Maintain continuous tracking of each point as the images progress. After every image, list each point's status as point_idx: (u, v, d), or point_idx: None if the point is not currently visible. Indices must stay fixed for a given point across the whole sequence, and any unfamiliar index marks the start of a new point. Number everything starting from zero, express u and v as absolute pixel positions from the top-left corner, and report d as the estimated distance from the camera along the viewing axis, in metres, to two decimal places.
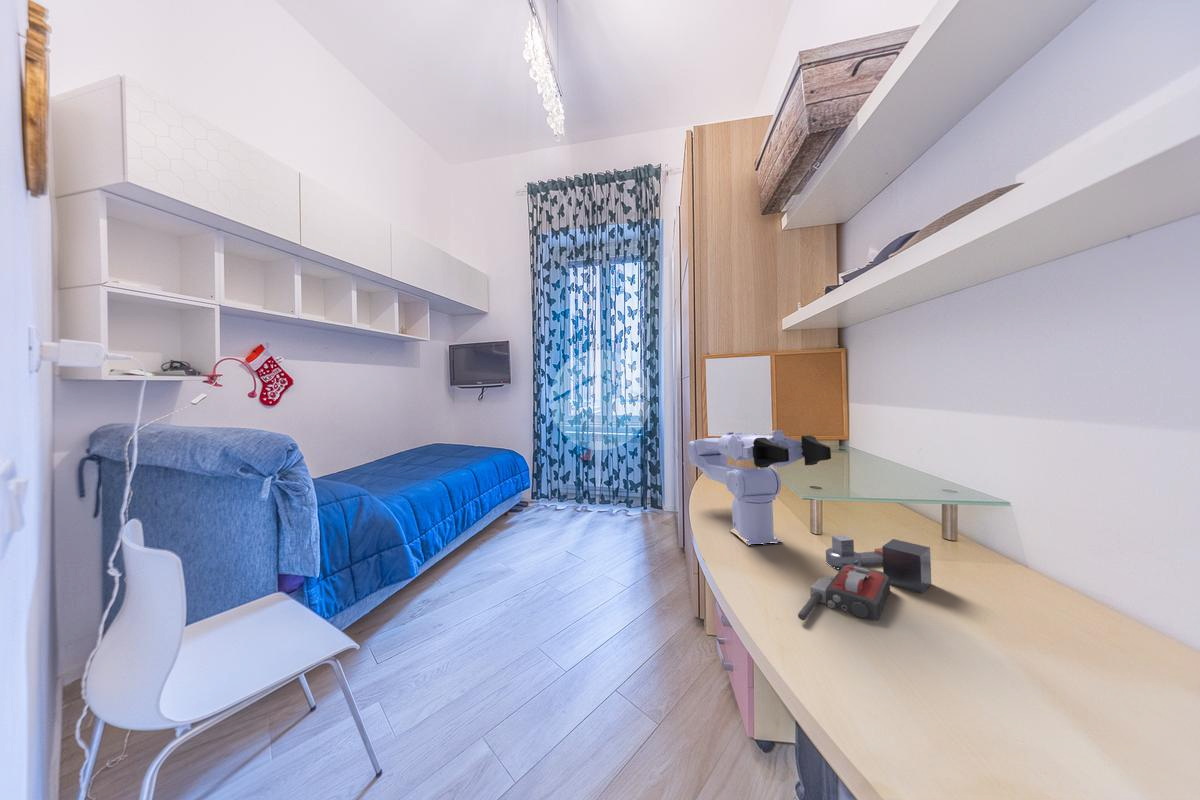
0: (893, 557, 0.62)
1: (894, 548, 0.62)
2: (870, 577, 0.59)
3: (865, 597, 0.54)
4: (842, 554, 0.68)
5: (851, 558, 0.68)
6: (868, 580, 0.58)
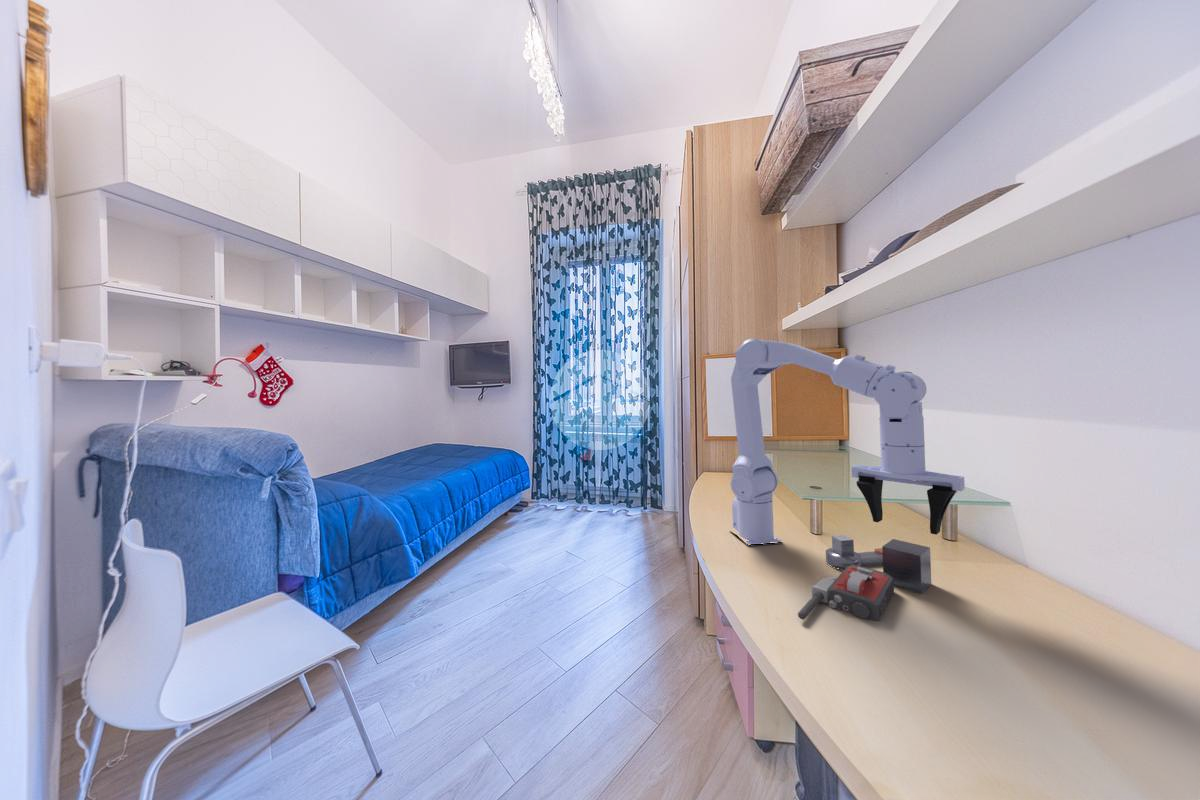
0: (893, 557, 0.62)
1: (894, 548, 0.62)
2: (873, 578, 0.59)
3: (867, 598, 0.54)
4: (842, 554, 0.68)
5: (851, 558, 0.68)
6: (871, 581, 0.58)
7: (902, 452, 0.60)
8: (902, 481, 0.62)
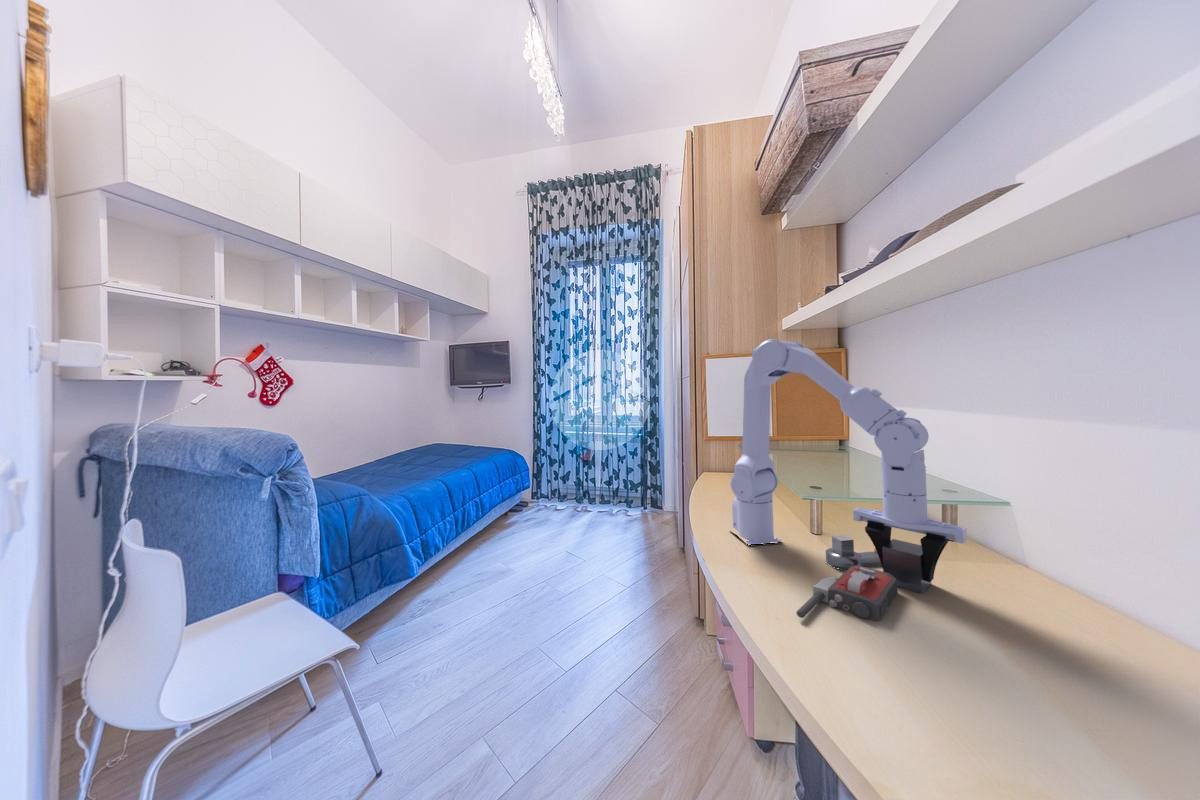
0: (893, 557, 0.62)
1: (894, 548, 0.62)
2: (876, 578, 0.59)
3: (867, 597, 0.54)
4: (842, 554, 0.68)
5: (851, 558, 0.68)
6: (873, 581, 0.58)
7: (904, 501, 0.60)
8: (904, 528, 0.62)
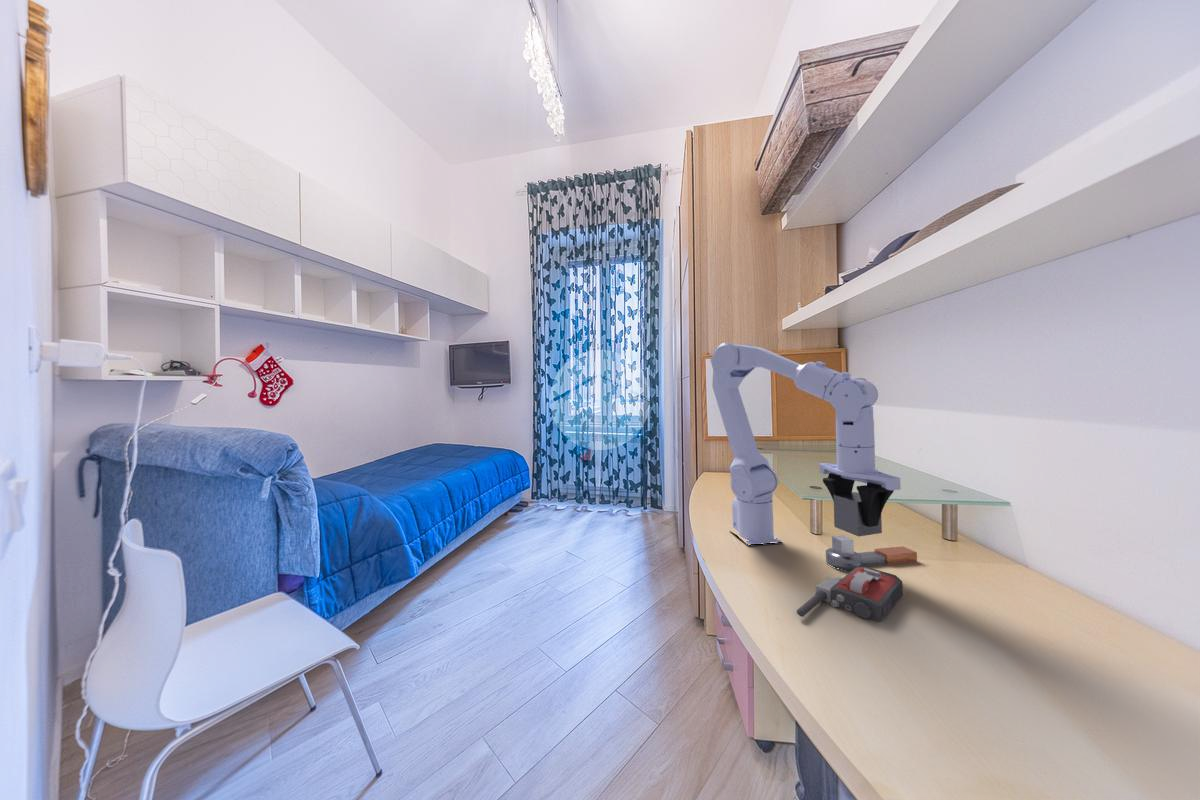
0: (840, 504, 0.68)
1: (842, 496, 0.68)
2: (880, 579, 0.58)
3: (869, 598, 0.54)
4: (842, 554, 0.68)
5: (851, 558, 0.68)
6: (877, 582, 0.58)
7: (846, 452, 0.66)
8: (854, 479, 0.68)
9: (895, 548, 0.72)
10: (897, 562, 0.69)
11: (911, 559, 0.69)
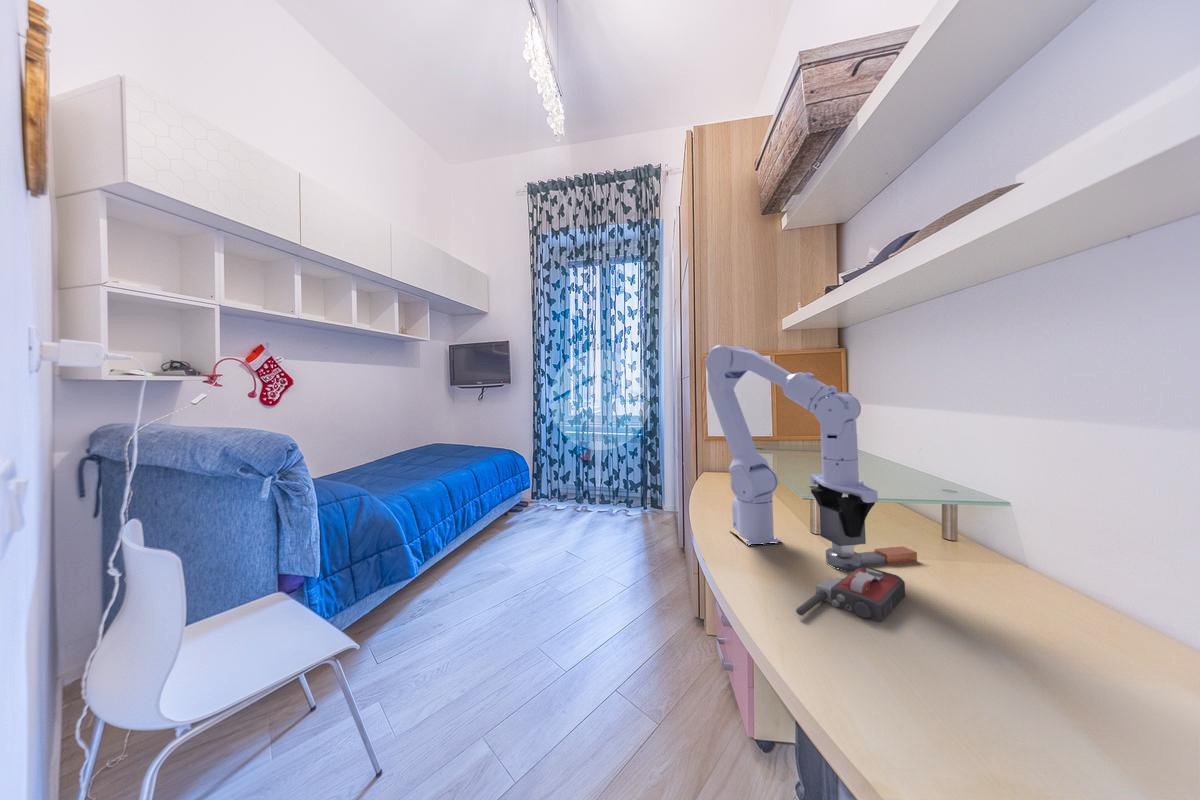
0: (825, 514, 0.70)
1: (827, 507, 0.70)
2: (882, 580, 0.58)
3: (869, 598, 0.54)
4: (842, 554, 0.68)
5: (851, 558, 0.68)
6: (879, 582, 0.58)
7: (828, 464, 0.69)
8: (838, 490, 0.70)
9: (895, 548, 0.72)
10: (897, 562, 0.69)
11: (911, 559, 0.69)
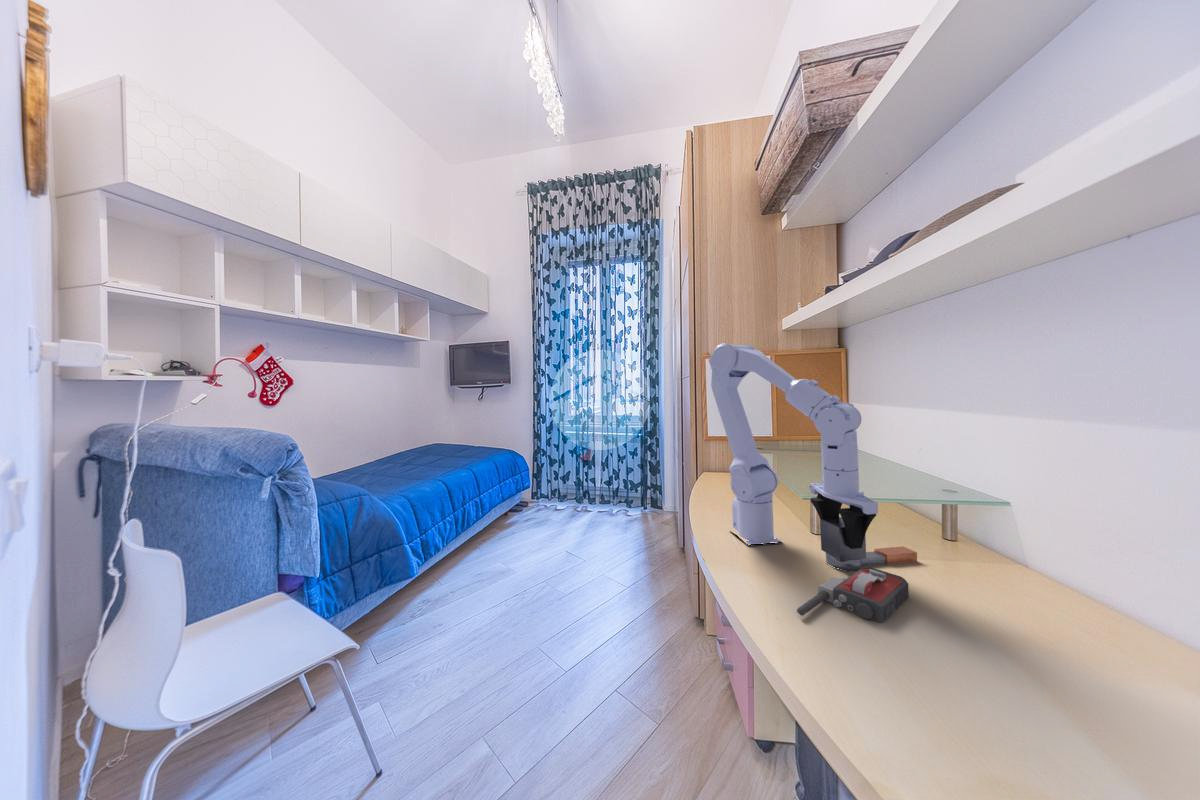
0: (825, 528, 0.70)
1: (828, 521, 0.70)
2: (885, 581, 0.58)
3: (871, 599, 0.53)
4: None
5: None
6: (882, 583, 0.57)
7: (829, 475, 0.69)
8: (839, 501, 0.70)
9: (895, 548, 0.72)
10: (897, 562, 0.69)
11: (911, 559, 0.69)
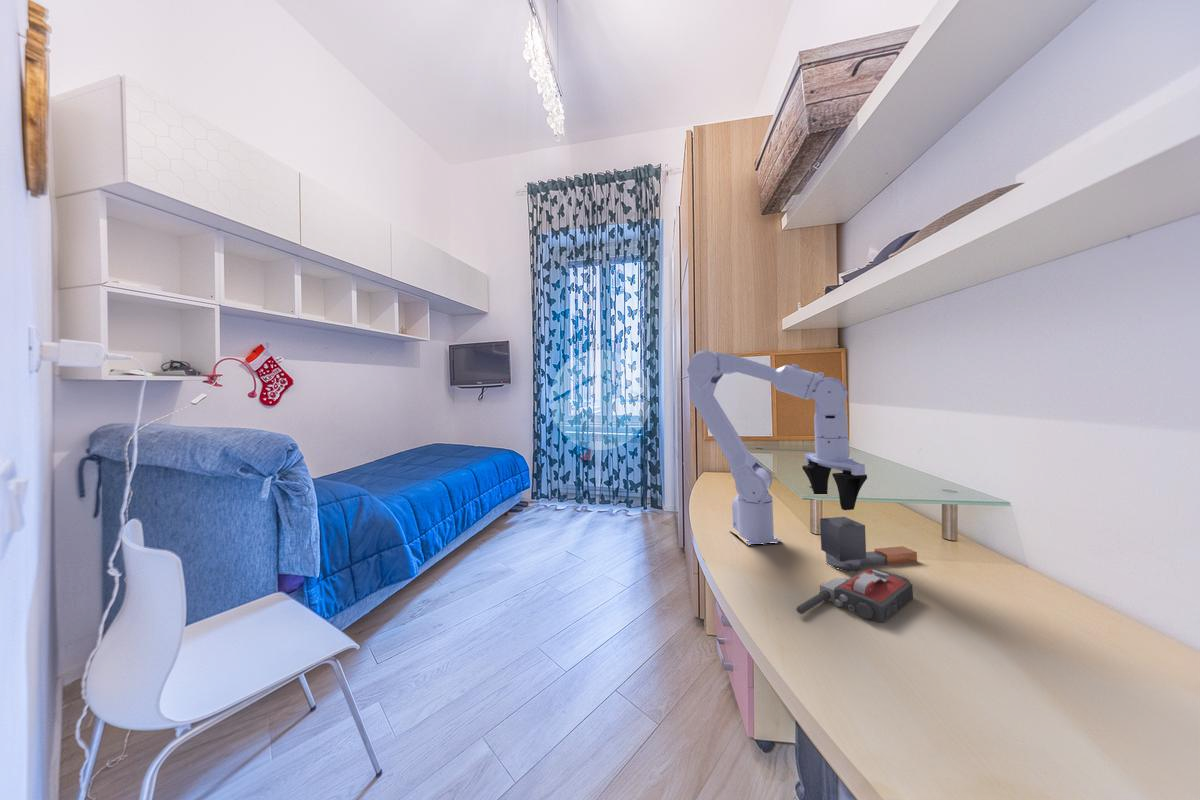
0: (825, 528, 0.70)
1: (827, 520, 0.70)
2: (888, 581, 0.58)
3: (872, 599, 0.53)
4: None
5: None
6: (884, 584, 0.57)
7: (821, 442, 0.75)
8: (830, 466, 0.76)
9: (895, 548, 0.72)
10: (897, 562, 0.69)
11: (911, 559, 0.69)
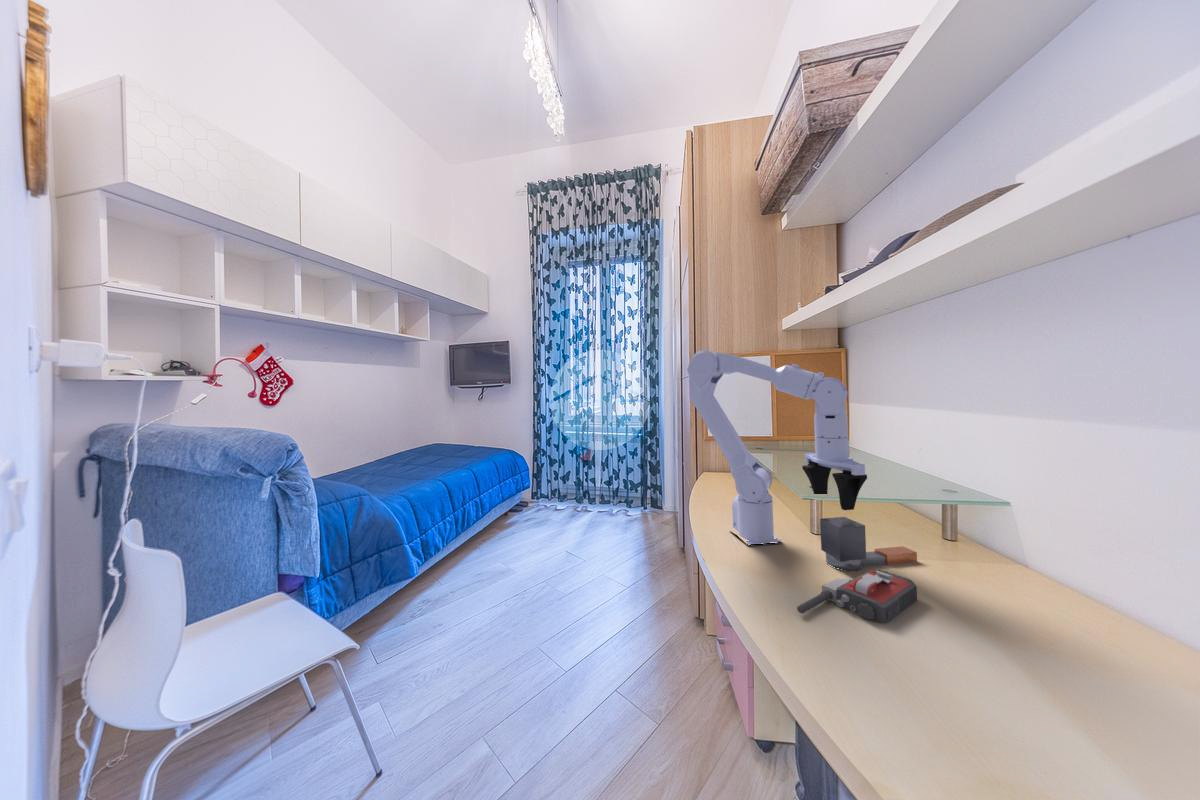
0: (825, 528, 0.70)
1: (828, 521, 0.70)
2: (892, 583, 0.57)
3: (874, 599, 0.53)
4: None
5: None
6: (887, 585, 0.57)
7: (821, 442, 0.75)
8: (830, 466, 0.76)
9: (895, 548, 0.72)
10: (897, 562, 0.69)
11: (911, 559, 0.69)
